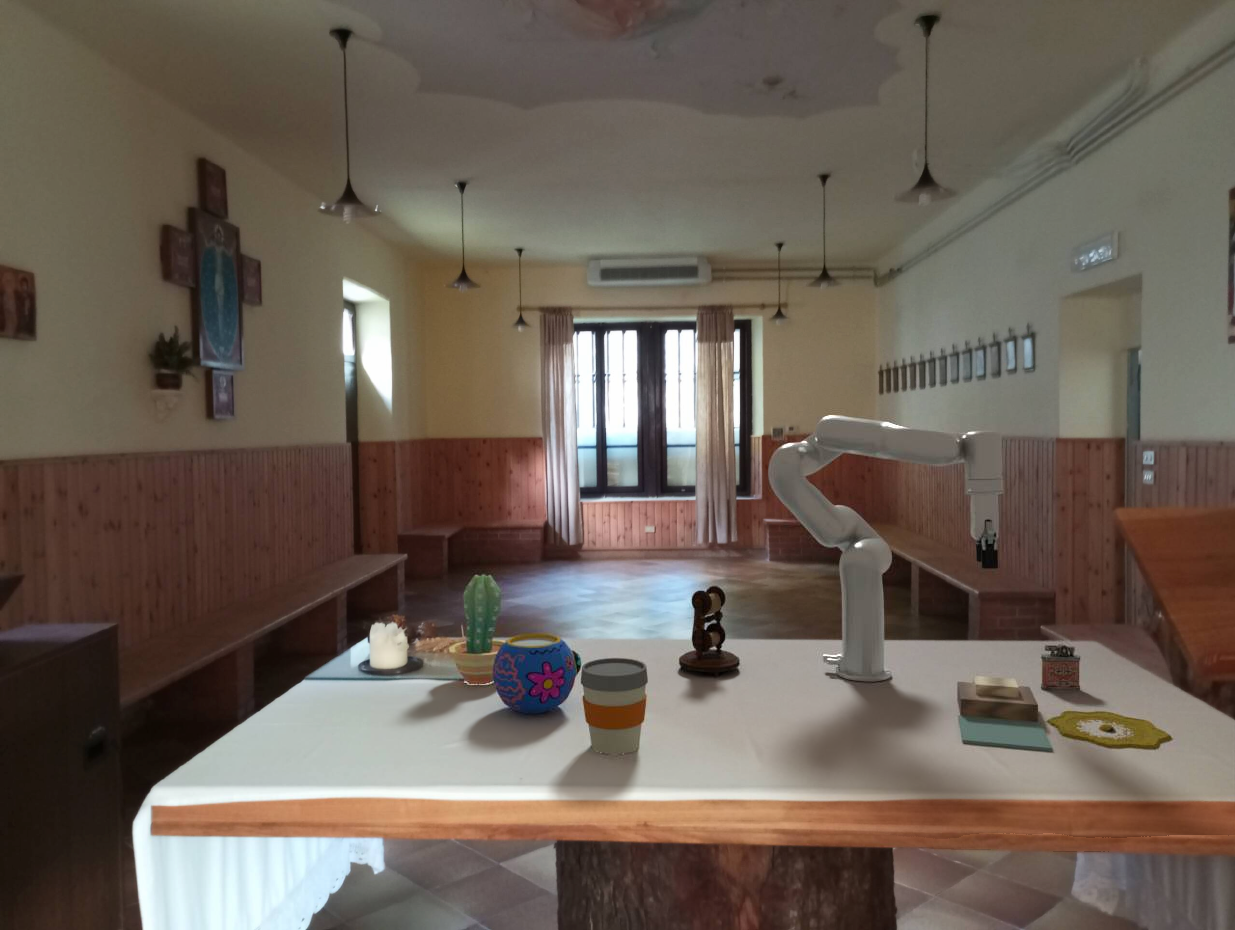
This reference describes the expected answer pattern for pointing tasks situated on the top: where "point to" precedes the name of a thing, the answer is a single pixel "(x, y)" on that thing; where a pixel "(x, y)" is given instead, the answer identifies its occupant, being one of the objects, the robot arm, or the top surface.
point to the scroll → (708, 635)
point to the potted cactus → (479, 631)
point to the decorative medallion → (1142, 729)
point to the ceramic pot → (535, 672)
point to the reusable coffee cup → (614, 703)
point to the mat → (1003, 733)
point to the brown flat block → (997, 704)
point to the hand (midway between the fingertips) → (987, 564)
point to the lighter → (1060, 669)
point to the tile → (995, 686)
